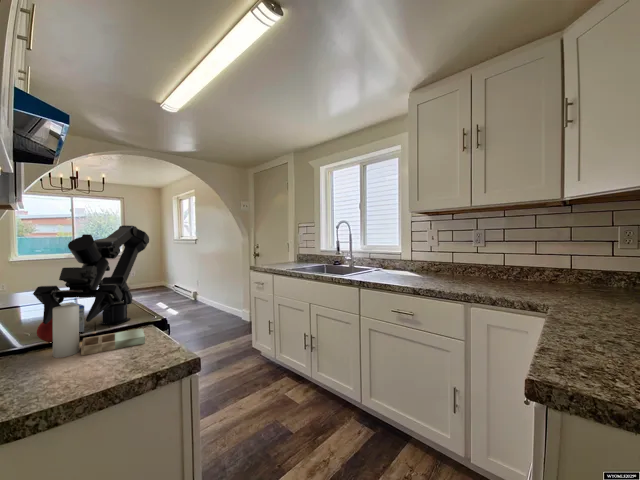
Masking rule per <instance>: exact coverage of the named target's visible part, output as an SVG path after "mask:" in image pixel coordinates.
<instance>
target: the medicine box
mask: <svg viewBox="0 0 640 480" xmlns="http://www.w3.org/2000/svg"><path fill="white" fill-rule="evenodd" d="M60 305H61V306H64V305H79V332H82V333H84V332H85V305H84V304H80V303H76V302H73V301H71V302H64V303H63V302H62V303H60Z"/></svg>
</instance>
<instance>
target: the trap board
mask: <svg viewBox="0 0 640 480" xmlns="http://www.w3.org/2000/svg"><path fill="white" fill-rule="evenodd" d="M144 332H145V331H144V329H143V327H141V328H136V329H131V330H125V331H117V332H113V333H106V334H100V335H99V334H98V335H95V336H89V337H83V338H82V342H81V346H80V356H87V355H92V354H96V353H97V354H98V353H101V352H108V351H112V350H117V349H122V348H127V347H133V346H137V345H143V344H146V336H145V333H144Z"/></svg>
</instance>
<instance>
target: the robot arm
mask: <svg viewBox="0 0 640 480" xmlns="http://www.w3.org/2000/svg"><path fill="white" fill-rule="evenodd" d="M149 243H150V236H149V235H148V234H147V232H146V231H144V230H142V229H140V228H138V227H137V226H135V225H127V224H126V225H124V224H123V225H120V226H119V227H118V229H116V230H115V231H113V232H112V233H111V234H109V235H108V236H106V237H103V238H97V239H94V237H93V235H92V234H87V233H85V234H82V236H79V237H77V238H75V239H72V240H71V241H69V242H68V244H67V248H68V250H69V251H70V252H71V254H72V256H73V257H74V258H75V260H76V261H77V262H78V263H80V264H82V265H81V267H77V266H76V267H75V266H74V267H62V269H61V271H60V275H59V279H58V280H59V281H63V282H65V285H64V286H65V287H66V288H69V289H60V288H59V287H58V285H41V286H37V287H36V288H35V290H34V292H32V295H33V296H34V297H35V298H36V299H37V300H38V301H39V302H40V303H41V304H42V305H43V315H42V316H43V318H42V322H43V323H44V324H47V323H48V322H49V321H50V320H51V319H52V318H53V308H55V307H58V306H61V305H60V304H62V303H63V301H64V299H67V298H69V299H70V298H71V299H73V298H79V299H82V298H83V299H84V298H85V299H87V298H94V301H93V303H92V306H91V307H90V309H89V311H88V313H87V315H86V318H85V321H86V322H87V323H89V322H90V321H92V320H93V319H94V318H95V317H97V316H98V315H99V314H101V312H102V314H101V315H102V316H101V317H102V321H99V322H98V323H99V324H100V325H110V326H111V325H112V326H115V325H116V324H117V325H119V324H122V323H125V322H127V320H128V321H130V319H132V318H131V317H128V305H131V304H132V302H133V295H132V293H131V292H130V289H129V288H130V287H129V285H128V283H127V281H128V279H129V276H130V274H131V271H132V269H133V267H134V264H135V262H136V260H137V257H138V255H139V253H141V252H142V251H145V249H147V248H146V247H147V246H148V245H149ZM122 246H124V249H123V251H122V252H121V247H122ZM120 252H121V253H120ZM119 254H120V258H119V259H118V261H117V263H116V265H115V267H114V270H113V272H112V274H111V275H110V276H105V277H104V275H105V273H106V272H108V271H110V270H111V267H110V263H109V261H108V259H109V260H112V259H113V260H115V259H116V258H117V257H118V256H119Z"/></svg>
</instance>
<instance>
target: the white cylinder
mask: <svg viewBox="0 0 640 480" xmlns="http://www.w3.org/2000/svg"><path fill="white" fill-rule="evenodd" d="M79 352H80V333H79V305H64V306H58V307H55V308H53V343H52V357H53V358H56V359H58V358H65V357H66V358H67V357H70V356H74V355H75V354H78V353H79Z"/></svg>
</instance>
